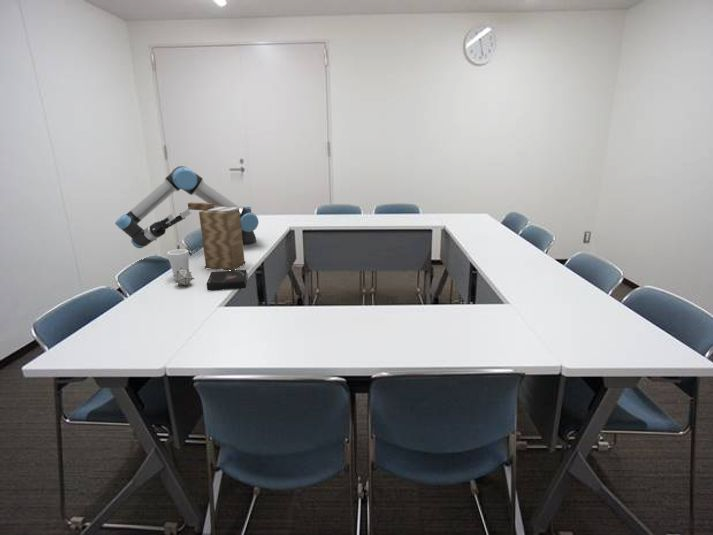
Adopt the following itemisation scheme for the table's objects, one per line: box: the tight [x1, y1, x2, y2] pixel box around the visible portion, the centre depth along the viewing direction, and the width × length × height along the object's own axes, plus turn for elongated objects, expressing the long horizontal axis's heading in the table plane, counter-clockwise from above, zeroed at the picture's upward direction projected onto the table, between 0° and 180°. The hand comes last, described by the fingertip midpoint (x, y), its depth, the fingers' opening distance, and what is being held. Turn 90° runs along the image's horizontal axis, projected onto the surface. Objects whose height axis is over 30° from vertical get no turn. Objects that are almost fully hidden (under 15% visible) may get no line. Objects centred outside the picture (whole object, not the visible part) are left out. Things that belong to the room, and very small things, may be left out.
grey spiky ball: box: [172, 268, 195, 288], centre depth 187 cm, size 9×8×10 cm
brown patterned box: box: [198, 209, 247, 271], centre depth 210 cm, size 17×13×30 cm
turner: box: [187, 201, 239, 213], centre depth 206 cm, size 25×10×3 cm, turn 77°
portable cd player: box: [206, 269, 248, 291], centre depth 190 cm, size 16×17×4 cm
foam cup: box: [167, 248, 190, 277], centre depth 196 cm, size 10×9×13 cm
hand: (182, 213), depth 211 cm, fingers open, 13 cm apart
